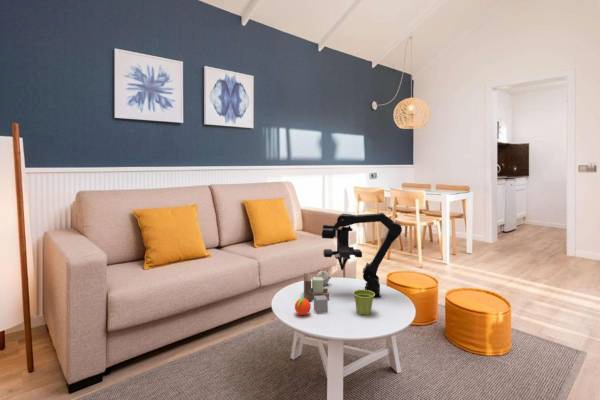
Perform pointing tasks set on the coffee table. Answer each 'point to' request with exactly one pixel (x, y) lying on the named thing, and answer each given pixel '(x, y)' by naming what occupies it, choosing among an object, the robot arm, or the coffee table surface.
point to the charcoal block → (320, 304)
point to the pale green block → (317, 284)
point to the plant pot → (363, 301)
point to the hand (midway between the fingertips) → (342, 270)
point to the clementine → (302, 306)
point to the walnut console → (308, 289)
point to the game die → (324, 276)
